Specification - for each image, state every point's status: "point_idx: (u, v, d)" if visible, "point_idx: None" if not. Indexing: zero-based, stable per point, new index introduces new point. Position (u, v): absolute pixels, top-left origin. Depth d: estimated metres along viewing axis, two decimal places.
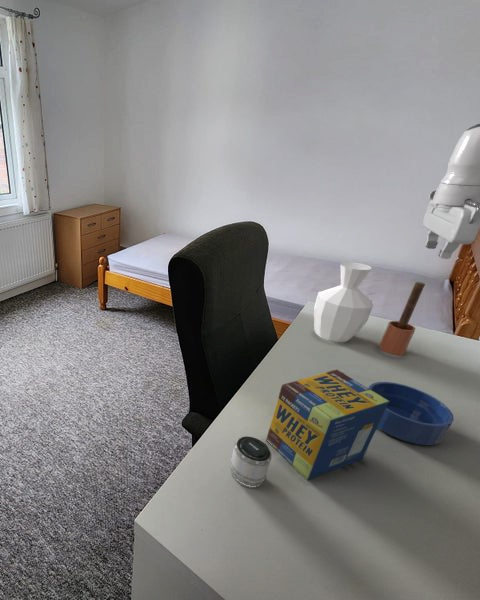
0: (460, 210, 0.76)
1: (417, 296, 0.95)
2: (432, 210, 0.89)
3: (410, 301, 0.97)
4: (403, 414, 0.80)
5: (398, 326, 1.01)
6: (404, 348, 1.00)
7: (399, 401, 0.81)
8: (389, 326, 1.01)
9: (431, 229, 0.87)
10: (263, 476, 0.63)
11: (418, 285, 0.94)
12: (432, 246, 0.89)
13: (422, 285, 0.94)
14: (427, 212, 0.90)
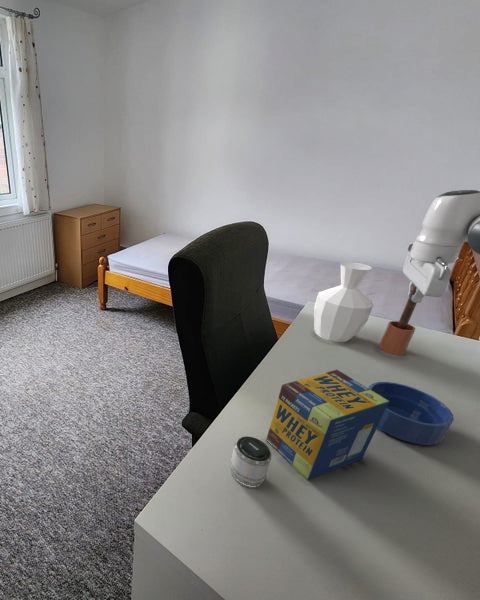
0: (431, 267, 0.87)
1: None
2: (410, 260, 0.99)
3: (410, 301, 0.97)
4: (403, 414, 0.80)
5: (398, 326, 1.01)
6: (404, 348, 1.00)
7: (399, 401, 0.81)
8: (389, 326, 1.01)
9: (409, 278, 0.98)
10: (263, 476, 0.63)
11: None
12: None
13: None
14: (406, 261, 1.01)
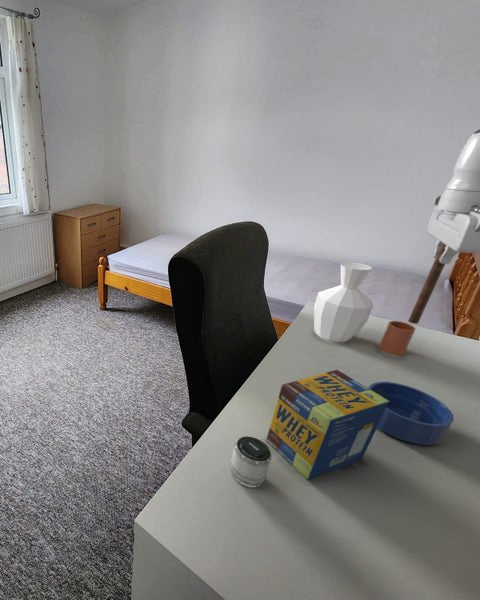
0: (466, 217, 0.73)
1: None
2: (437, 216, 0.85)
3: (437, 263, 0.83)
4: (403, 414, 0.80)
5: (421, 294, 0.86)
6: (404, 348, 1.00)
7: (399, 401, 0.81)
8: (389, 326, 1.01)
9: (435, 236, 0.84)
10: (263, 476, 0.63)
11: None
12: None
13: None
14: (432, 218, 0.87)
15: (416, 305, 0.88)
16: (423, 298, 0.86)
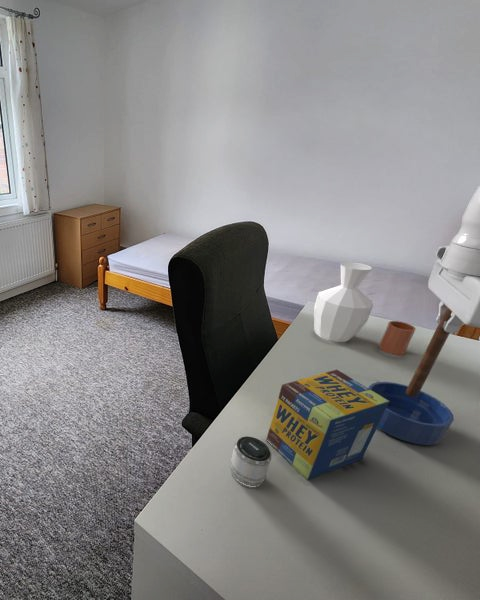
0: (479, 284, 0.58)
1: None
2: (440, 271, 0.70)
3: (440, 330, 0.68)
4: (403, 414, 0.80)
5: (422, 363, 0.71)
6: (404, 348, 1.00)
7: (399, 401, 0.81)
8: (389, 326, 1.01)
9: (439, 296, 0.69)
10: (263, 476, 0.63)
11: None
12: None
13: None
14: (433, 272, 0.72)
15: (415, 376, 0.73)
16: (423, 369, 0.71)
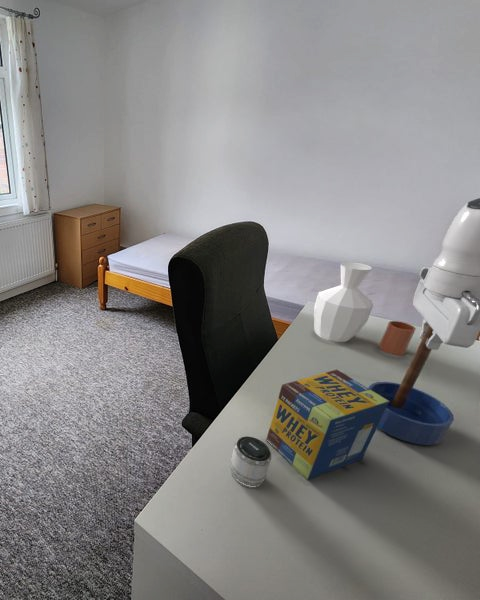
0: (456, 306, 0.62)
1: None
2: (423, 290, 0.74)
3: (423, 346, 0.72)
4: (403, 414, 0.80)
5: (406, 377, 0.75)
6: (404, 348, 1.00)
7: None
8: (389, 326, 1.01)
9: (422, 314, 0.73)
10: (263, 476, 0.63)
11: None
12: None
13: None
14: (418, 290, 0.76)
15: (400, 389, 0.77)
16: (408, 382, 0.75)
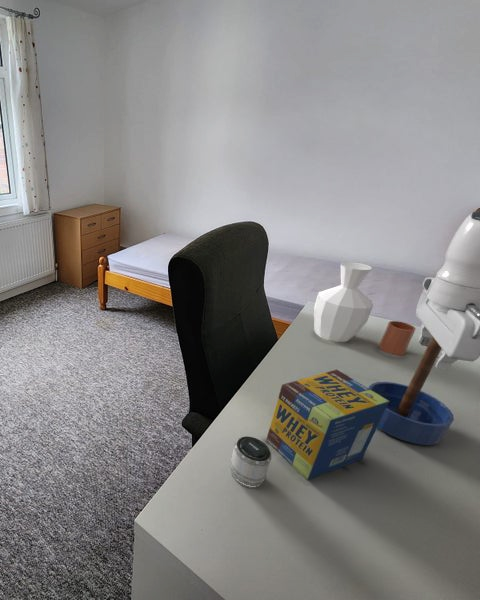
0: (461, 319, 0.60)
1: (435, 355, 0.69)
2: (427, 300, 0.73)
3: (425, 361, 0.71)
4: None
5: (408, 392, 0.74)
6: (404, 348, 1.00)
7: (399, 401, 0.81)
8: (389, 326, 1.01)
9: (425, 325, 0.71)
10: (263, 476, 0.63)
11: (436, 341, 0.68)
12: (427, 343, 0.73)
13: None
14: (421, 300, 0.75)
15: (402, 403, 0.76)
16: (409, 397, 0.74)
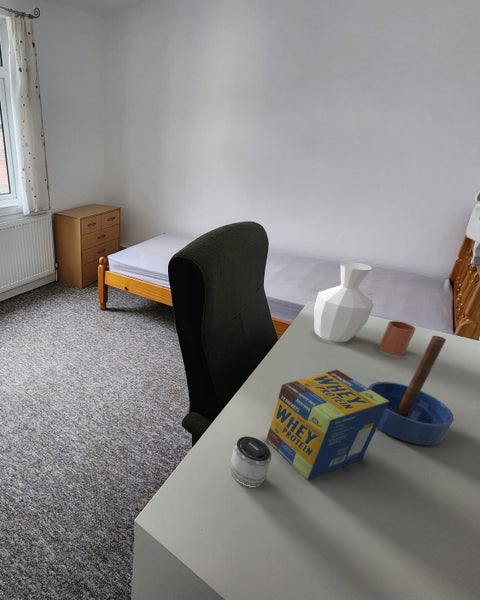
0: None
1: (435, 355, 0.69)
2: None
3: (425, 361, 0.71)
4: None
5: (408, 392, 0.74)
6: (404, 348, 1.00)
7: (399, 401, 0.81)
8: (389, 326, 1.01)
9: None
10: (263, 476, 0.63)
11: (436, 341, 0.68)
12: None
13: (442, 341, 0.68)
14: (472, 218, 0.69)
15: (402, 403, 0.76)
16: (409, 397, 0.74)
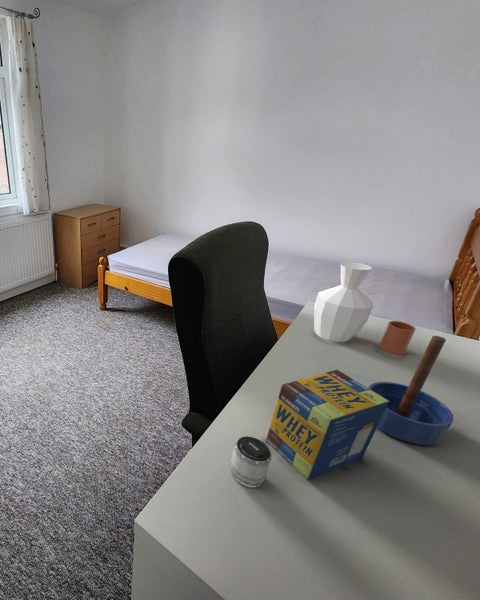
0: None
1: (435, 355, 0.69)
2: None
3: (425, 361, 0.71)
4: None
5: (408, 392, 0.74)
6: (404, 348, 1.00)
7: (399, 401, 0.81)
8: (389, 326, 1.01)
9: None
10: (263, 476, 0.63)
11: (436, 341, 0.68)
12: None
13: (442, 341, 0.68)
14: None
15: (402, 403, 0.76)
16: (409, 397, 0.74)
